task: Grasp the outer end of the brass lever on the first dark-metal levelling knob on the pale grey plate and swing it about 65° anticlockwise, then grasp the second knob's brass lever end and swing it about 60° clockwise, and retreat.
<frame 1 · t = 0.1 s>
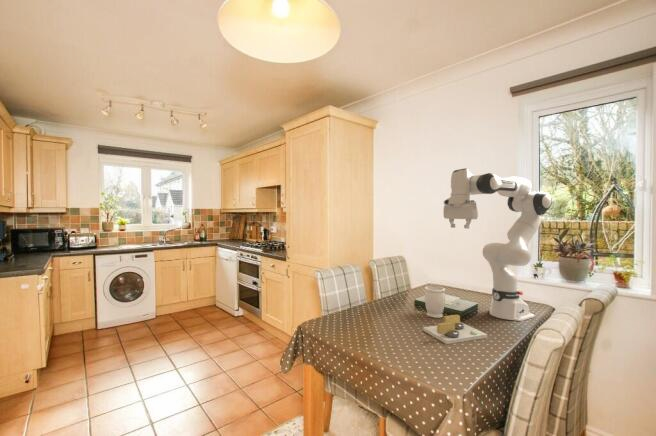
hand: (459, 228, 154), 48 cm above the table, fingers open, 8 cm apart
level plate: (454, 333, 139), on the table
jar: (434, 315, 164), on the table
knob b: (447, 329, 133), point 4 cm above the table, hinge at 0.0°
knob a: (453, 321, 143), point 4 cm above the table, hinge at 0.0°
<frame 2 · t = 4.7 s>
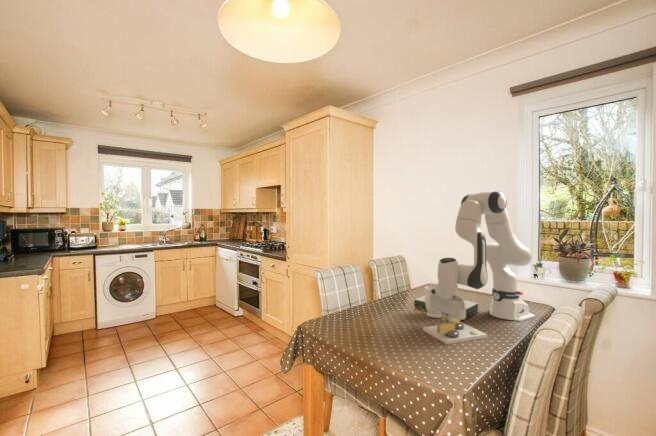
hand: (447, 322, 141), 4 cm above the table, fingers closed on knob a, 2 cm apart
knob a: (453, 321, 143), point 4 cm above the table, hinge at 0.0°, touching gripper
everything else where it was.
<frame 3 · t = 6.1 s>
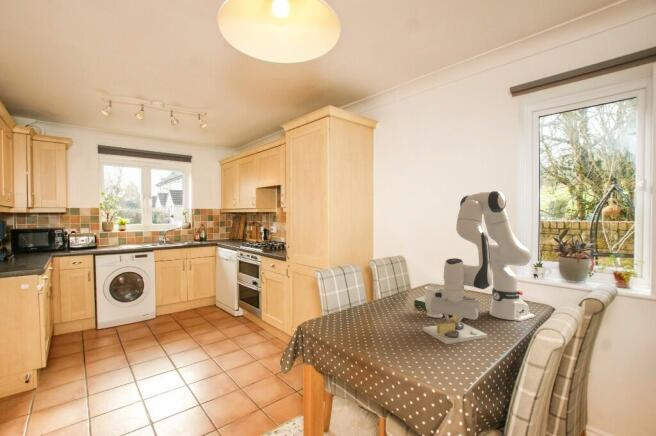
hand: (453, 324, 139), 4 cm above the table, fingers closed
knob a: (455, 322, 142), point 4 cm above the table, hinge at 30.6°, touching gripper
everything else where it was.
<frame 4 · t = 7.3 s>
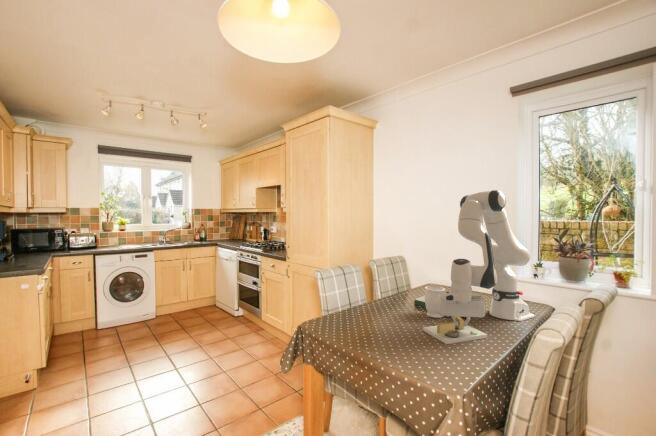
hand: (460, 325, 138), 4 cm above the table, fingers open, 3 cm apart
knob a: (458, 322, 141), point 4 cm above the table, hinge at 65.5°
everything else where it was.
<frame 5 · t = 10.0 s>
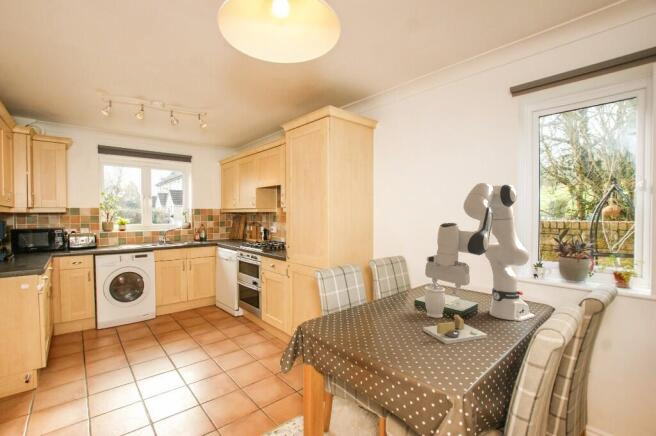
hand: (445, 291, 133), 21 cm above the table, fingers open, 8 cm apart
nothing on the table moved.
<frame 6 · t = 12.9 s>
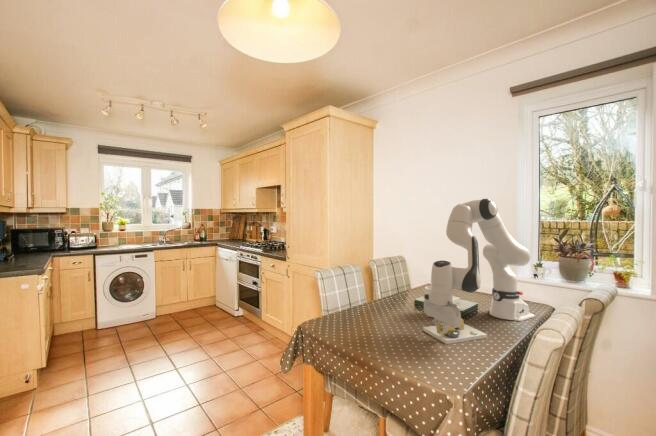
hand: (441, 330, 132), 4 cm above the table, fingers closed on knob b, 2 cm apart
knob b: (447, 329, 133), point 4 cm above the table, hinge at 0.0°, touching gripper
everything else where it was.
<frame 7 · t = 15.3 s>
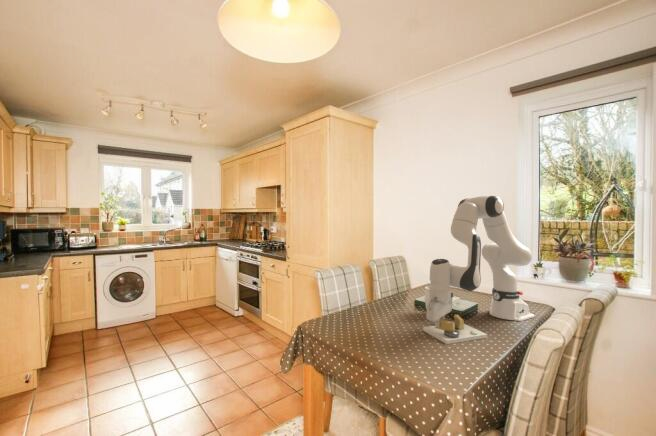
hand: (439, 325, 137), 4 cm above the table, fingers closed
knob b: (447, 327, 135), point 4 cm above the table, hinge at -61.0°
everything else where it was.
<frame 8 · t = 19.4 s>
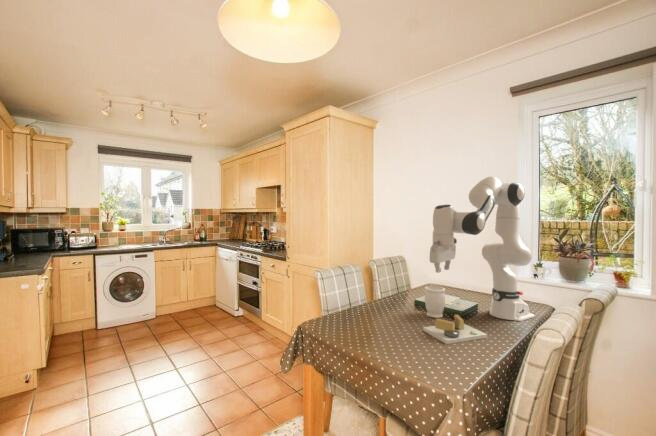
hand: (442, 270, 138), 29 cm above the table, fingers open, 8 cm apart
nothing on the table moved.
at the end: knob a at +66° (first picture: +0°); knob b at -61° (first picture: +0°); the gripper is holding nothing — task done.
